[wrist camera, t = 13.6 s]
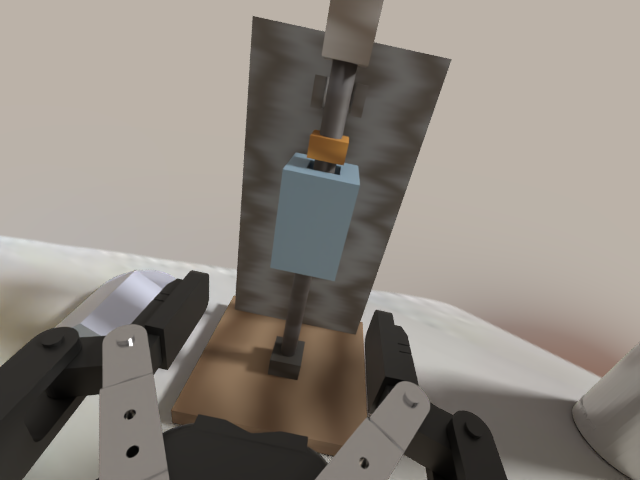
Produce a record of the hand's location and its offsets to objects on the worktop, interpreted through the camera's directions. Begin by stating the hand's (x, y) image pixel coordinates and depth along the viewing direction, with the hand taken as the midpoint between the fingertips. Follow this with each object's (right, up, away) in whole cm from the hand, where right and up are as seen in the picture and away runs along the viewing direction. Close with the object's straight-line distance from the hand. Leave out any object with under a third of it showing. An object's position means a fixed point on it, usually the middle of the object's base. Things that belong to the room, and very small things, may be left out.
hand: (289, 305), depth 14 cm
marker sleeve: (0, +2, +12) cm, 12 cm away
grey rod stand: (-3, -12, +19) cm, 23 cm away
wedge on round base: (-21, -7, +22) cm, 31 cm away
